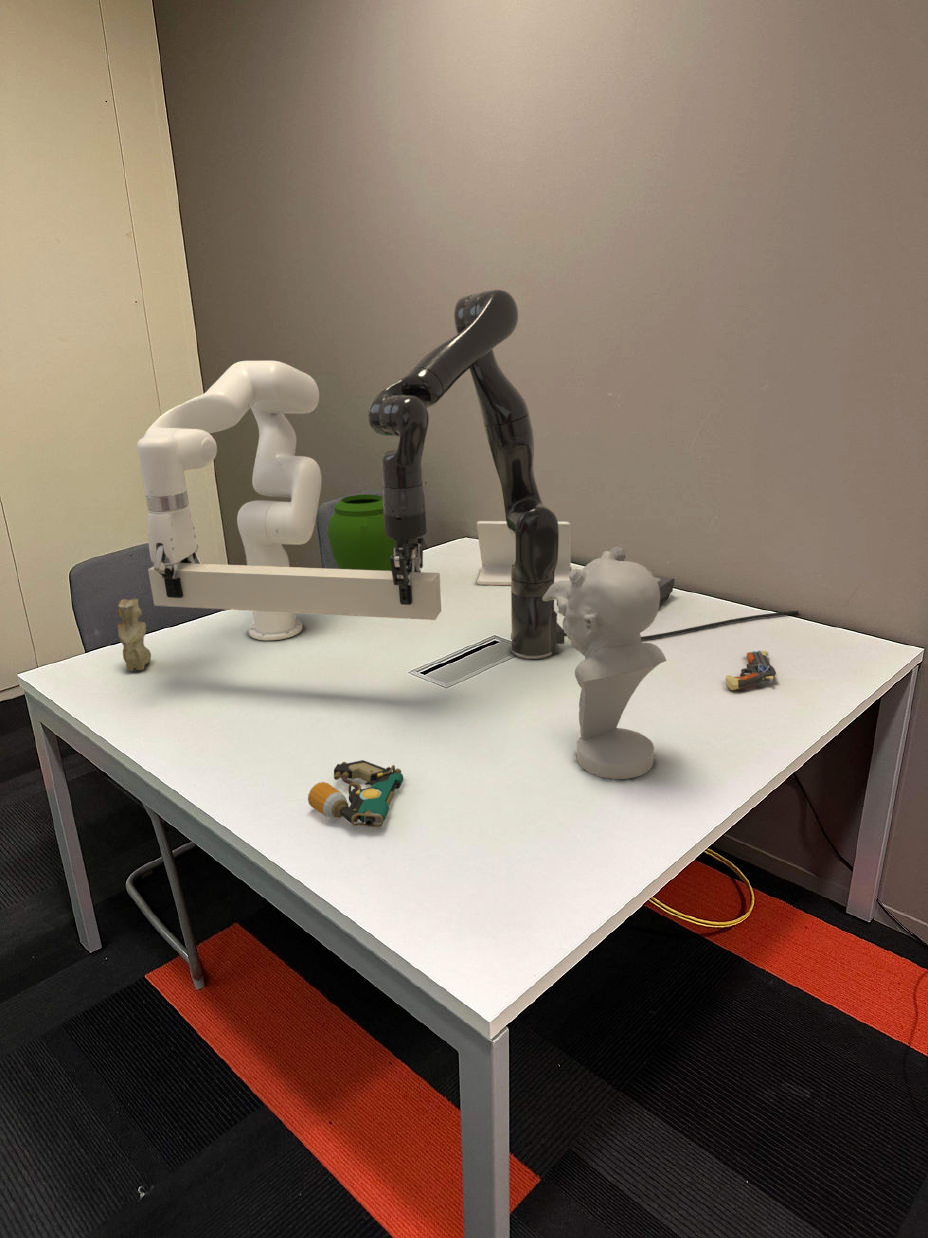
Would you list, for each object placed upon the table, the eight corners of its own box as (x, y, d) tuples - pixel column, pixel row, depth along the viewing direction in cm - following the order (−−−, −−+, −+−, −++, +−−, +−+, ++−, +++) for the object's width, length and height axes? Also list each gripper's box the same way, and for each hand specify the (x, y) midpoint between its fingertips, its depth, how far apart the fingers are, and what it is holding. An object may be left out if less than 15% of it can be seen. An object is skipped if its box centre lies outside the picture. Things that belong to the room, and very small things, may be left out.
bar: (441, 610, 160) (439, 572, 158) (435, 620, 156) (433, 581, 153) (167, 597, 173) (160, 562, 170) (154, 605, 169) (147, 569, 166)
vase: (418, 582, 236) (413, 495, 227) (374, 603, 220) (368, 510, 212) (362, 572, 246) (356, 488, 237) (317, 591, 230) (309, 503, 222)
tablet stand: (569, 585, 229) (570, 524, 223) (476, 584, 232) (475, 523, 226) (570, 566, 246) (571, 508, 240) (484, 564, 249) (483, 507, 243)
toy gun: (727, 680, 165) (782, 677, 163) (718, 649, 183) (767, 646, 181) (728, 693, 166) (782, 690, 164) (719, 661, 184) (767, 658, 182)
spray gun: (349, 769, 144) (428, 790, 138) (290, 816, 130) (376, 841, 124) (349, 746, 143) (429, 767, 137) (289, 791, 128) (375, 816, 122)
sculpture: (156, 659, 189) (146, 595, 184) (147, 672, 183) (135, 606, 177) (130, 660, 189) (118, 596, 184) (119, 673, 182) (107, 608, 177)
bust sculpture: (592, 709, 161) (598, 528, 148) (680, 765, 141) (694, 562, 128) (520, 730, 154) (519, 542, 141) (601, 792, 134) (608, 580, 121)
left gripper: (173, 491, 170) (187, 577, 177) (124, 513, 155) (141, 606, 162) (207, 492, 169) (220, 579, 176) (161, 513, 154) (177, 608, 160)
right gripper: (395, 499, 159) (401, 585, 166) (371, 519, 146) (379, 612, 153) (434, 500, 158) (439, 587, 164) (413, 520, 145) (419, 613, 151)
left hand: (182, 591), depth 169 cm, fingers closed on bar, 4 cm apart
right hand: (410, 598), depth 158 cm, fingers closed on bar, 4 cm apart
